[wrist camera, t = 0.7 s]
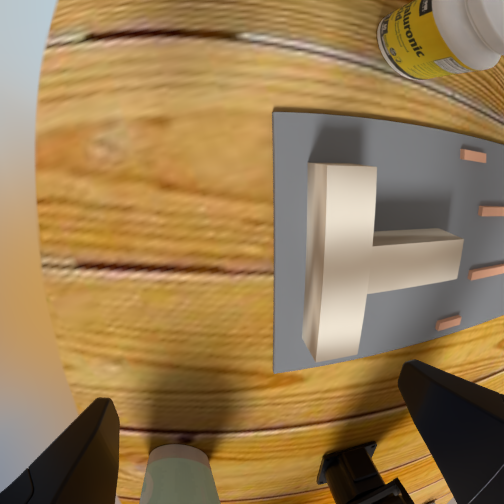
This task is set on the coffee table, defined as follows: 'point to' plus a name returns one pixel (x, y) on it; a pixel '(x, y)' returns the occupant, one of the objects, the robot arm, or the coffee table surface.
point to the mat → (391, 226)
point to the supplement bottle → (443, 37)
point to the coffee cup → (178, 477)
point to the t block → (359, 257)
